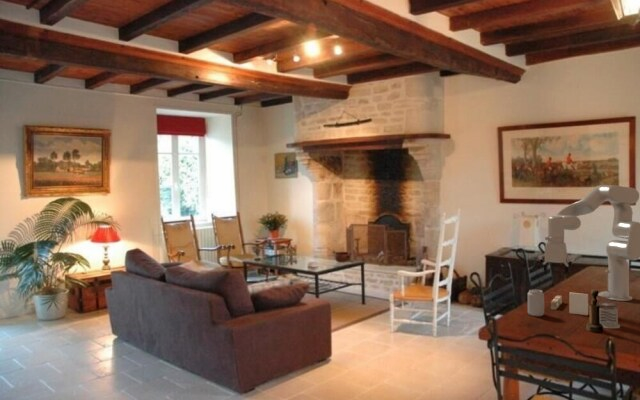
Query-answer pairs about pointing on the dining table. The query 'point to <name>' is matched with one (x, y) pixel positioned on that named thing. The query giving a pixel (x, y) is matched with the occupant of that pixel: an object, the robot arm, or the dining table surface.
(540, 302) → the can
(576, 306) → the tile
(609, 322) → the french press
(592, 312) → the pepper mill
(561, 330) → the dining table surface
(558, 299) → the cream wooden plank
